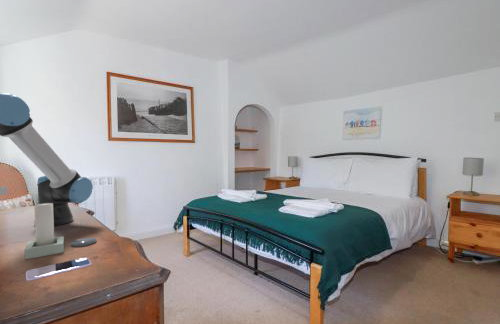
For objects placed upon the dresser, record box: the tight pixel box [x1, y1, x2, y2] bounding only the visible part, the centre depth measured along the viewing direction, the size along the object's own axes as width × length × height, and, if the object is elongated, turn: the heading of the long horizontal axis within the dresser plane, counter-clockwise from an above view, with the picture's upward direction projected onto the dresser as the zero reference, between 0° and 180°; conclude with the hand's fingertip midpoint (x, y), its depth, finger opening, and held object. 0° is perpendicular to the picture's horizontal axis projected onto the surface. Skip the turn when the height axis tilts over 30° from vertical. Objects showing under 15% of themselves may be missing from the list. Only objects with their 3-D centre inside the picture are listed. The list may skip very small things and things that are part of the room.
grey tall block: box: [34, 203, 55, 246], centre depth 92 cm, size 5×5×16 cm
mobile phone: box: [25, 257, 92, 281], centre depth 78 cm, size 8×1×15 cm
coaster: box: [70, 237, 97, 248], centre depth 100 cm, size 8×8×1 cm
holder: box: [24, 235, 65, 260], centre depth 92 cm, size 10×10×3 cm
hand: (3, 192), depth 86 cm, fingers open, 13 cm apart
